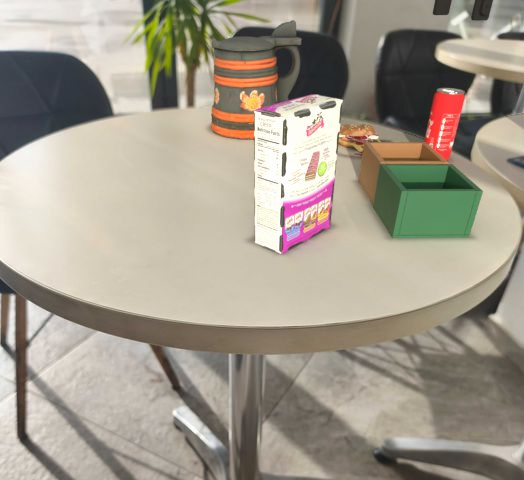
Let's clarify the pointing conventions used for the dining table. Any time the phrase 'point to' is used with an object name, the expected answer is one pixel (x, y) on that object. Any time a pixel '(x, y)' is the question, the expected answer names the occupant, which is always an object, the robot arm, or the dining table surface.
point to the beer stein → (250, 79)
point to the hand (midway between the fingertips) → (459, 17)
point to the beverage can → (444, 120)
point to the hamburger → (357, 136)
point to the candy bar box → (294, 169)
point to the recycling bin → (426, 201)
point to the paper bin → (392, 160)
